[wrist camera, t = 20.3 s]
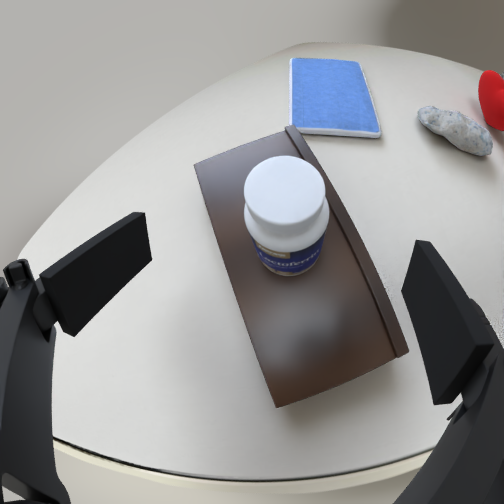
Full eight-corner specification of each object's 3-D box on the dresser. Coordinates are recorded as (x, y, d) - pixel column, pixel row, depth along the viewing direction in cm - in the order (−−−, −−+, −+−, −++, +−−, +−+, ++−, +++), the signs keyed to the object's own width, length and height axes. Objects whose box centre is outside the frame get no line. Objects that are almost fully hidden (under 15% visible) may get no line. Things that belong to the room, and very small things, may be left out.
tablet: (289, 62, 39) (289, 56, 38) (359, 65, 37) (360, 60, 36) (288, 136, 33) (288, 129, 32) (382, 141, 31) (384, 135, 30)
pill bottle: (261, 282, 24) (238, 241, 14) (254, 222, 26) (230, 156, 16) (326, 271, 23) (345, 224, 14) (314, 212, 25) (321, 142, 16)
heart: (463, 99, 32) (479, 60, 23) (481, 103, 31) (498, 68, 22) (492, 147, 28) (518, 109, 19) (510, 150, 28) (535, 115, 18)
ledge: (392, 351, 23) (409, 351, 19) (279, 399, 24) (275, 410, 19) (295, 148, 33) (294, 123, 28) (203, 183, 33) (191, 161, 29)
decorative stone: (479, 135, 29) (491, 116, 25) (488, 166, 28) (503, 147, 23) (412, 111, 32) (421, 88, 28) (418, 142, 30) (429, 117, 26)
